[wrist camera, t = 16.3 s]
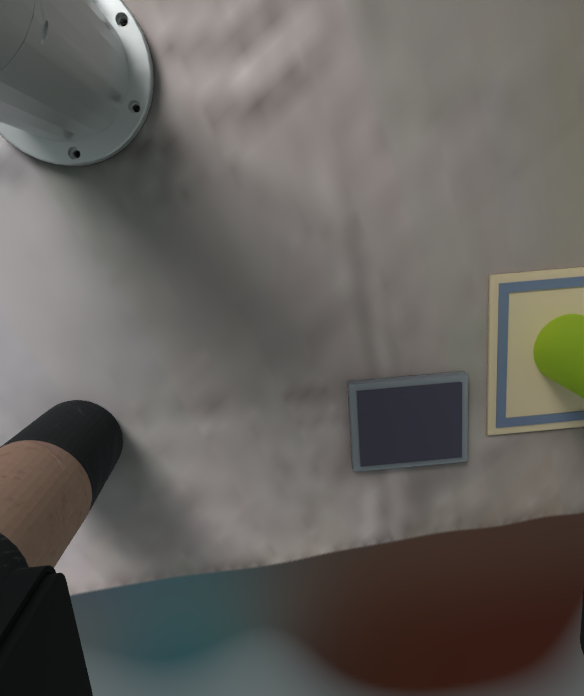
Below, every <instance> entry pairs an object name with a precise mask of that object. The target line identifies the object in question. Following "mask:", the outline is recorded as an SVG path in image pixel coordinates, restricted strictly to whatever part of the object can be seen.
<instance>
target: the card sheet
mask: <svg viewBox="0 0 584 696" xmlns="http://www.w3.org/2000/svg"><path fill="white" fill-rule="evenodd" d="M566 314H580V315H584V267H577V268H566V269H554V270H542V271H530V272H519V273H507V274H495V275H489V298H488V358H487V417H486V434H487V435H498V434H509V433H519V432H530V431H541V430H552V429H563V428H574V427H584V398H582V397H581V396H579V395H577V394H575V393H574V392H572V391H570V390H568V389H567V388H565V387H563V386H562V385H560V384H558V383H556V382H555V381H553V380H551V379H549V378H548V377H546V376H545V375H543V374H542V373H541V372H540V370H539V369H538V367H537V366H536V363H535V360H534V353H533V352H534V344H535V341H536V338H537V336H538V334H539V333H540V331H541V330H542V329H543V327H544V326H545V325H546V324H548V323H549V322H550V321H552V320H553V319H555V318H557V317H559V316H562V315H566Z"/></svg>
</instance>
